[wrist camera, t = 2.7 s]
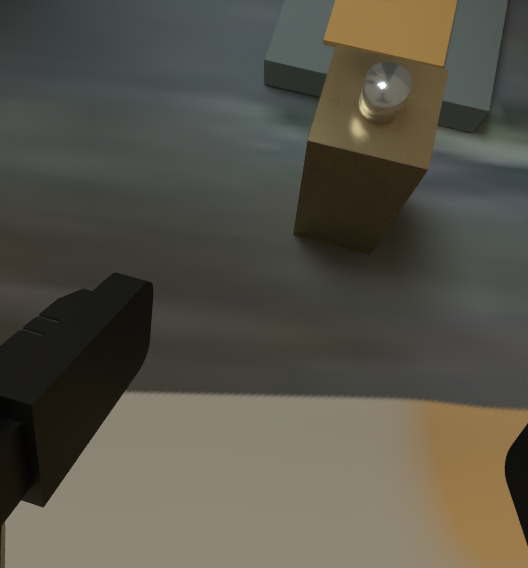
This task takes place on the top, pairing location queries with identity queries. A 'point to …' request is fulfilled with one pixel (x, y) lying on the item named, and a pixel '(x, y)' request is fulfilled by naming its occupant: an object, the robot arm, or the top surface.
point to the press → (394, 45)
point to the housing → (367, 146)
